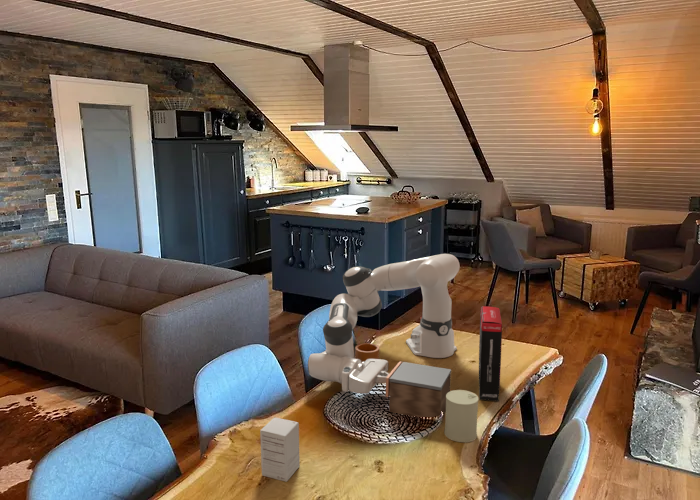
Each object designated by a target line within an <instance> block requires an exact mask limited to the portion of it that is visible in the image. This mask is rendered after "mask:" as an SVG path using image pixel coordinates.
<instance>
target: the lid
mask: <svg viewBox="0 0 700 500" xmlns="http://www.w3.org/2000/svg"><path fill="white" fill-rule="evenodd" d="M450 374H451V375H452V369H451V368H444V367H437V366H431V365H427V364H426V365H425V364H424V365H423V364H419V363H414V362H413V363H412V362H407V361H402V360H401V361H399V362H397V364H396V365H395V366H394V368H392V370H391V371H390V372H389V375H388V376H387V377H386V382H385V398H389V388H390V382H395V383H401V384H407V385H412V386H418V387H424V388H429V389H435V390H442V388H443V386H444V384H445V383H446V381H447V379H448V377H449V375H450Z"/></svg>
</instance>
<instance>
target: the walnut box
mask: <svg viewBox="0 0 700 500" xmlns="http://www.w3.org/2000/svg"><path fill="white" fill-rule="evenodd" d="M451 381H452V373H451V374H450V375H449V377H448V379H447V381H446V383H445V384H444V386H443V388H442V390H435V389H429V388H424V387H418V386H412V385H407V384H401V383H395V382H390V388H389V397H388V399H389V401H388V412H389V411H390V412H393V413H392V414H394V413H398V414H397V415H399V414H403V415H402V416H404V415H409V416H417V417H435V416H438V415H440V414H441V411H442V412H443V414H444V415H445V414H446V394H447V393H448V392H450V391H451V385H452V384H451V383H452V382H451ZM409 416H408V417H409Z"/></svg>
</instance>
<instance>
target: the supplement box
mask: <svg viewBox="0 0 700 500" xmlns="http://www.w3.org/2000/svg"><path fill="white" fill-rule="evenodd" d="M299 425H300V424H299V422H297V421H294V420H289V419H286V418H284V419H283V418H280V417H272V418H271V420H270V421H268V423H266V424H265V425H264V426H263V427H262V428H261V429H260V431H259V432H260V433H259V434H260V438H259V439H260V458H261V459H260V460H261V475H262V476H264V477H267V478H270V479H275V480H278V481H282V482H288V481H289V480H290V478H291V477H293V475H294V473H295V472H296V471H297V470H298V469H299V468H300V467H301V466H300V465H301V464H300V463H301V461H300V457H301V456H300V426H299Z"/></svg>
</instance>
